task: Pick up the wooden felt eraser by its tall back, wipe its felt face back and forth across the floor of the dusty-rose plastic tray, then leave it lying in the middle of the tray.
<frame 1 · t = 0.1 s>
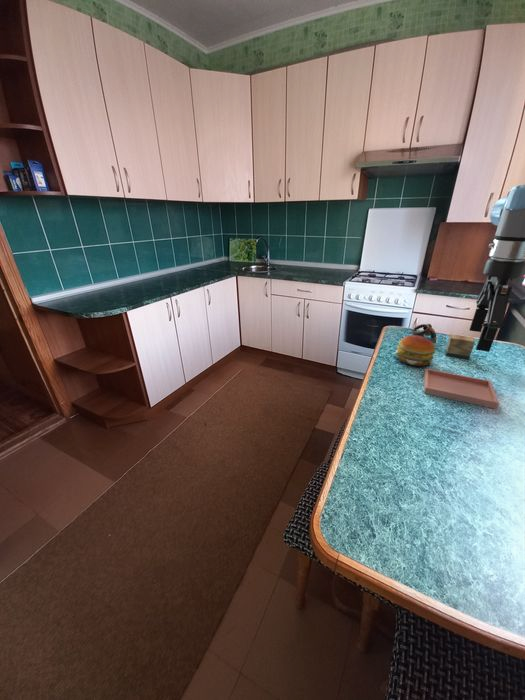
hand: (478, 340, 78), 23 cm above the table, tool pointing down, fingers open, 13 cm apart
pottery mug: (423, 339, 133), on the table
tray: (456, 389, 97), on the table
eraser: (456, 355, 119), on the table
burger: (412, 360, 116), on the table
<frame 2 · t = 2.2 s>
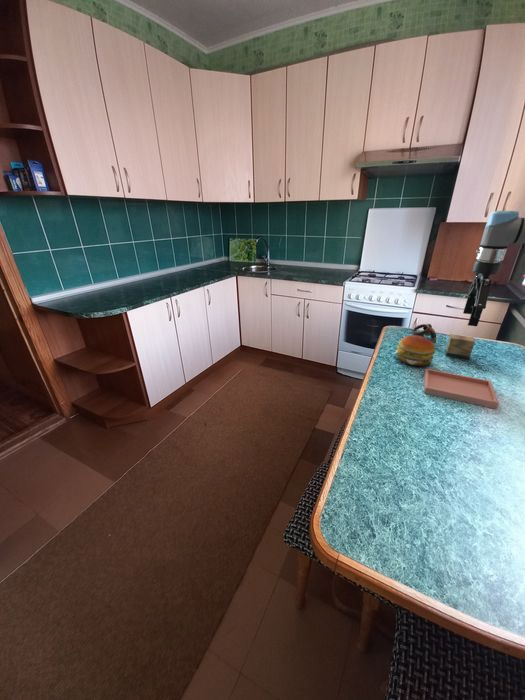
hand: (469, 319, 108), 17 cm above the table, tool pointing down, fingers open, 13 cm apart
nothing on the table moved.
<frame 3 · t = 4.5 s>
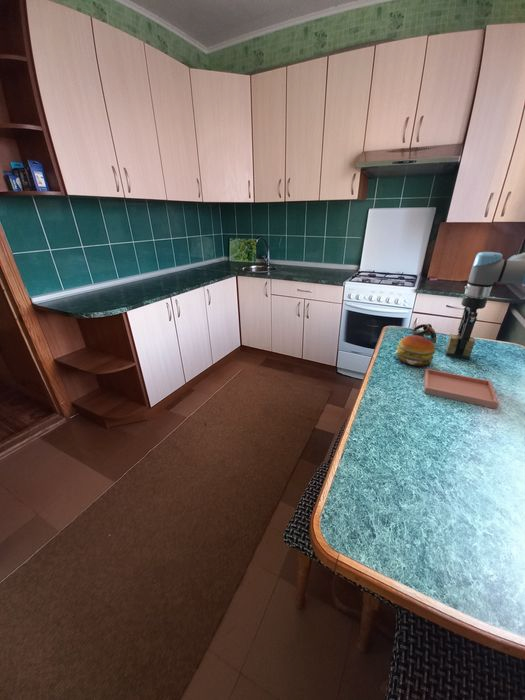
hand: (457, 351, 118), 2 cm above the table, tool pointing down, fingers closed on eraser, 4 cm apart
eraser: (456, 355, 119), on the table, touching gripper
everything else where it was.
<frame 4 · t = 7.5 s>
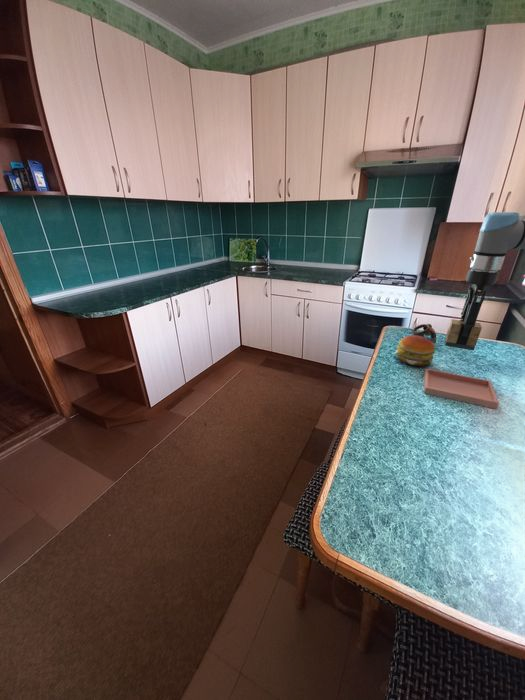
hand: (460, 341, 96), 15 cm above the table, tool pointing down, fingers closed on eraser, 4 cm apart
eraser: (458, 345, 97), point 13 cm above the table, touching gripper
everything else where it was.
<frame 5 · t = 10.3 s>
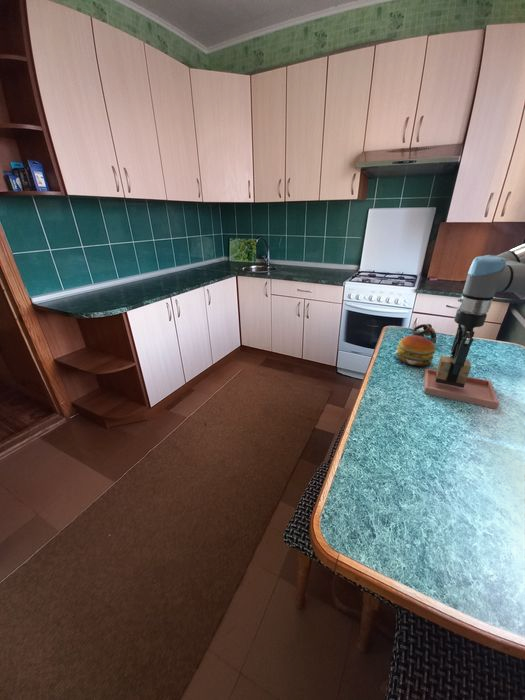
hand: (450, 377, 97), 4 cm above the table, tool pointing down, fingers closed on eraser, 4 cm apart
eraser: (448, 381, 97), point 2 cm above the table, touching gripper
everything else where it was.
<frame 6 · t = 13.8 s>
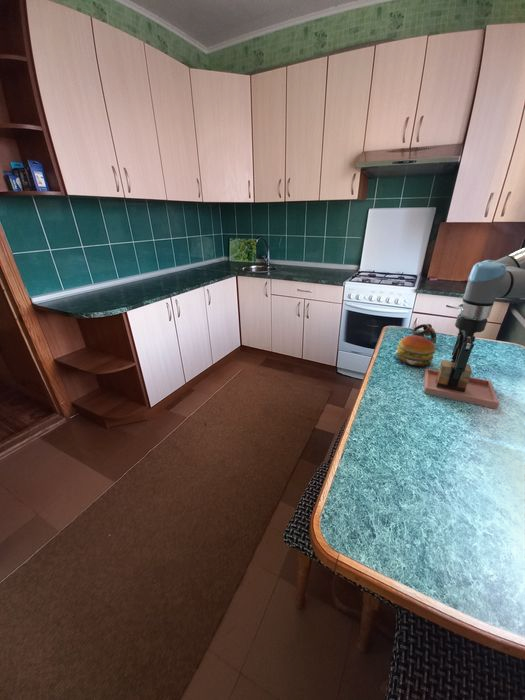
hand: (451, 381, 97), 3 cm above the table, tool pointing down, fingers closed on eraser, 4 cm apart
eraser: (449, 385, 98), point 1 cm above the table, touching gripper
everything else where it was.
when the fingers open (2 cm above the table, at t = 16.4 s): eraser stays where it is, resting on tray.
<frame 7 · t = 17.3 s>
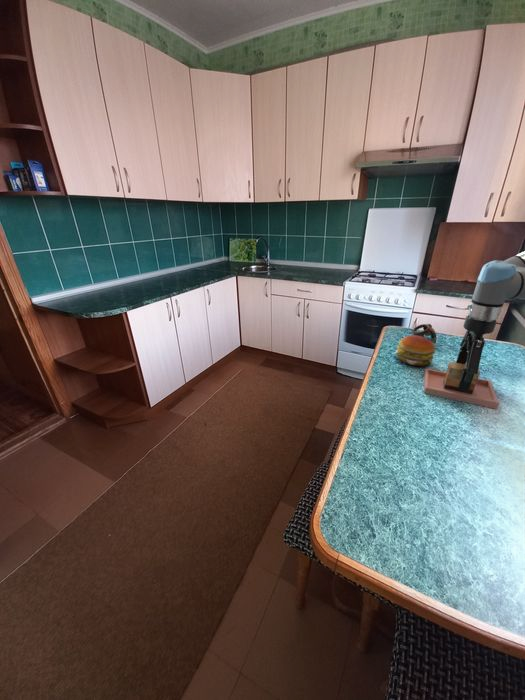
hand: (460, 378, 95), 5 cm above the table, tool pointing down, fingers open, 13 cm apart
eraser: (457, 387, 97), point 1 cm above the table, touching tray
everything else where it was.
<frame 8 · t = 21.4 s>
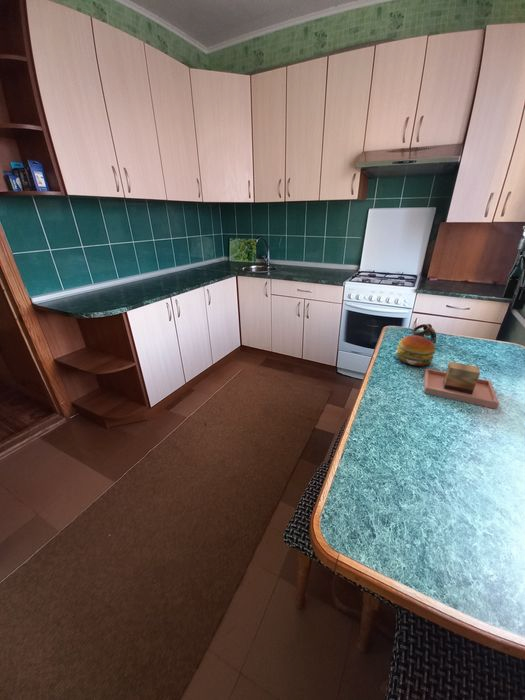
hand: (511, 303, 100), 25 cm above the table, tool pointing down, fingers open, 13 cm apart
nothing on the table moved.
at the end: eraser inside the target area in the tray (0.1 cm from its centre), point 0.8 cm above the tray's base; the gripper is holding nothing; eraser moved 28.1 cm from its start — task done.
